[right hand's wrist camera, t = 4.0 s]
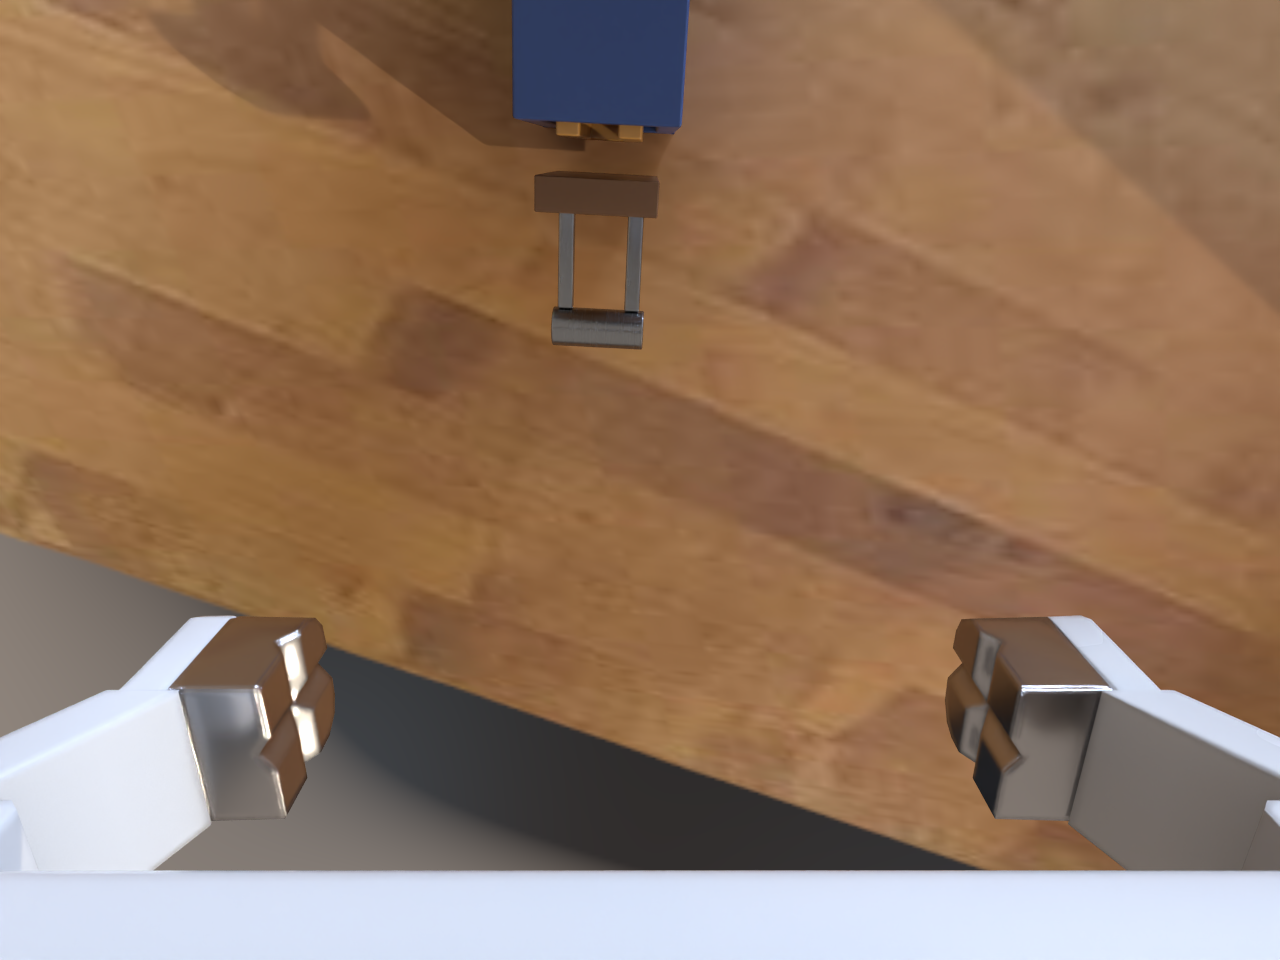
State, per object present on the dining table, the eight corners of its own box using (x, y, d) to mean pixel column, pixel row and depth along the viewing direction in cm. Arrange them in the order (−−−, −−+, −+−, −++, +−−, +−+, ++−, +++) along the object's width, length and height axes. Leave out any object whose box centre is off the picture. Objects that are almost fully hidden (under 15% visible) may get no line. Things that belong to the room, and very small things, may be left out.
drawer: (648, 332, 37) (648, 372, 30) (555, 327, 37) (534, 366, 30) (687, -372, 28) (699, -542, 21) (563, -380, 28) (535, -552, 21)
